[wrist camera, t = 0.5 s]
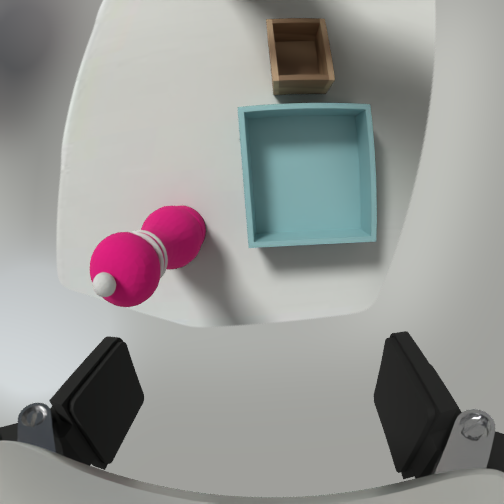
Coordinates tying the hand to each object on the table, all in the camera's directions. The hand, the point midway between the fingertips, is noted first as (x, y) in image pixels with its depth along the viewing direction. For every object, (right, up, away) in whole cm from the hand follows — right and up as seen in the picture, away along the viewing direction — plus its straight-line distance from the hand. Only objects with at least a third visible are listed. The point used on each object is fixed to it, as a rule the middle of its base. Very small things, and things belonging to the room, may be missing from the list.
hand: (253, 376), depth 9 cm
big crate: (+6, +14, +24) cm, 29 cm away
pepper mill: (-9, +7, +28) cm, 30 cm away
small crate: (+5, +27, +21) cm, 35 cm away
